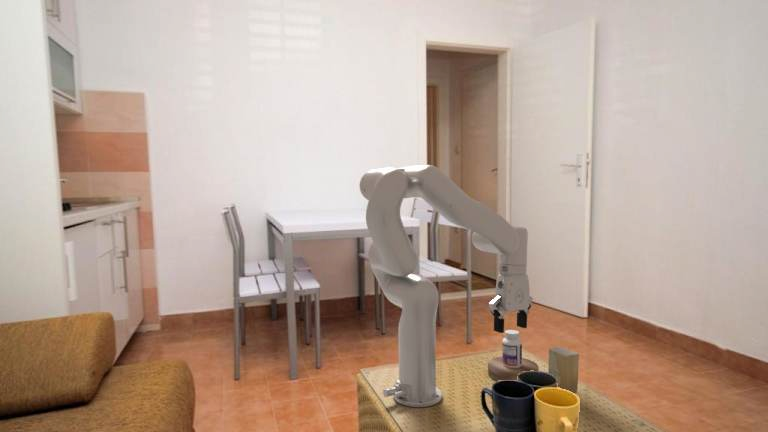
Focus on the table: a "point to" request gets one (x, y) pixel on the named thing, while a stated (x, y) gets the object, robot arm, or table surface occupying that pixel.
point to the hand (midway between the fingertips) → (510, 329)
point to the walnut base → (508, 369)
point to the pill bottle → (512, 349)
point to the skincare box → (564, 368)
